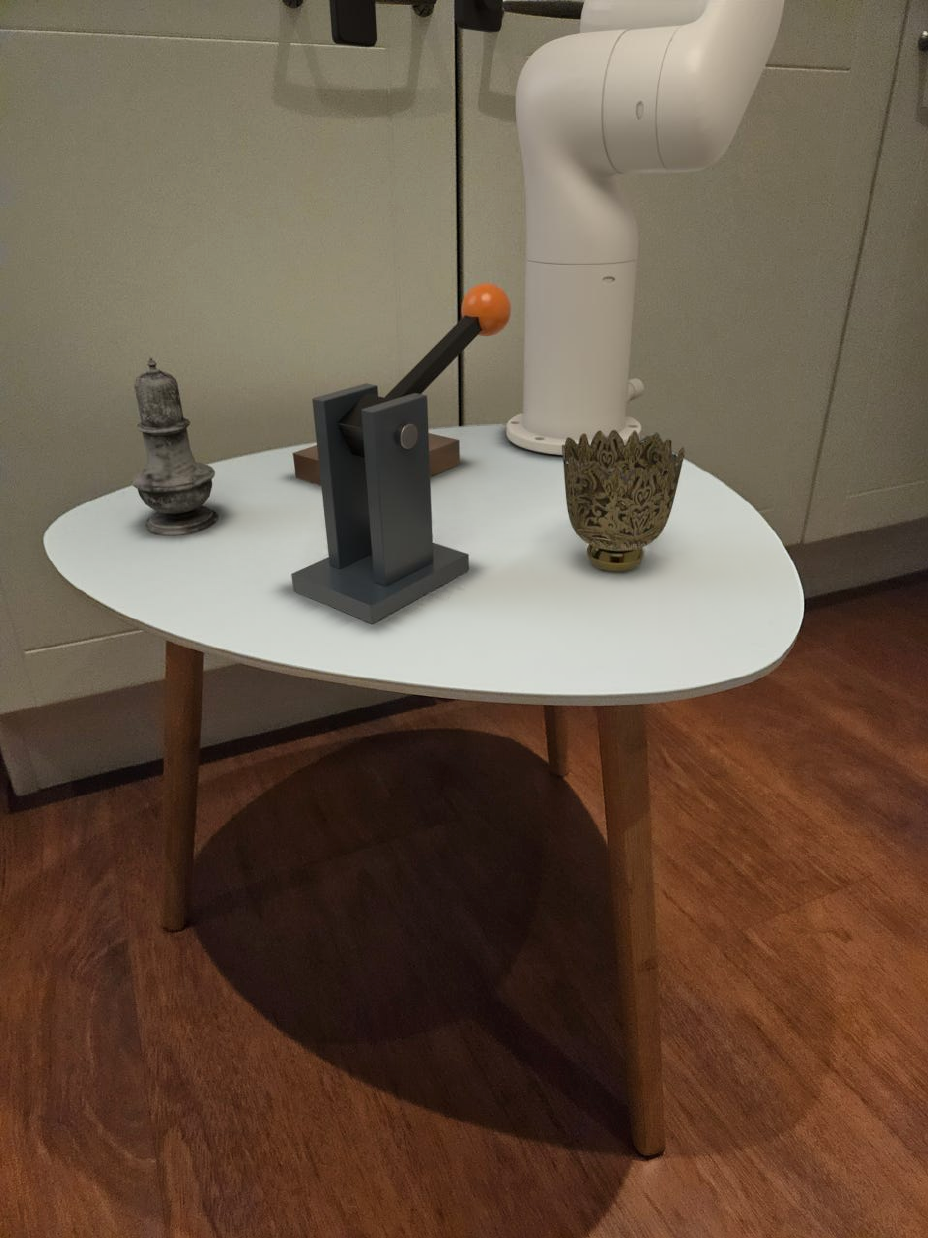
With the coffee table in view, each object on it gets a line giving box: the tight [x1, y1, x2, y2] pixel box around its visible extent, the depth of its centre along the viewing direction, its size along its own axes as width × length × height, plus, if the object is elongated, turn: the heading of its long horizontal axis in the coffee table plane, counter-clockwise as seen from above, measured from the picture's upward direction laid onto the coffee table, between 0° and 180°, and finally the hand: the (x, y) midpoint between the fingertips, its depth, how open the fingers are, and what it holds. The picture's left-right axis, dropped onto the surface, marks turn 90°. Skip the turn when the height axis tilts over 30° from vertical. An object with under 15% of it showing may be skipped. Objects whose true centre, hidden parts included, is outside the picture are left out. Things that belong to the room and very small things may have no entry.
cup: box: [562, 430, 686, 572], centre depth 54 cm, size 8×7×8 cm
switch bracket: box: [290, 382, 470, 624], centre depth 52 cm, size 9×7×12 cm
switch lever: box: [337, 282, 512, 458], centre depth 52 cm, size 15×3×3 cm, turn 141°
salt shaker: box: [130, 357, 219, 536], centre depth 61 cm, size 6×6×12 cm
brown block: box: [292, 432, 461, 486], centre depth 72 cm, size 11×9×4 cm
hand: (413, 37), depth 49 cm, fingers open, 9 cm apart
